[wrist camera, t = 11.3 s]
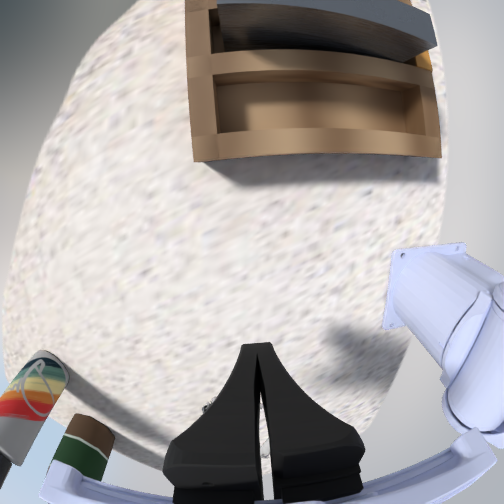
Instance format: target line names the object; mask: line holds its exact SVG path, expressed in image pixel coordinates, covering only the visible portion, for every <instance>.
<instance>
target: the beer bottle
mask: <svg viewBox="0 0 504 504" xmlns="http://www.w3.org/2000/svg"><path fill="white" fill-rule="evenodd" d="M114 440H115V437H114V435H113V434H112V433H111V431H110V430H109V429H108V428H107V426H105V425H103V424H102V423H100V422H98V421H97V420H95V419H93V418H92V417H90V416H86V415H81V414H75V415H74V417H73V418H72V420H71V422H70V423H69V425H68V427H67V430H66V432H65V433H64V435H63V438H62V440H61V442H60V444H59V446H58V448H57V450H56V453H55V455H54V457H53V459H52V461H53V460H57V461H59V462H62V463H64V464H67V465H69V466H72V467H73V468H75V469H77V470H78V471H79V472H80V473H81V474H82V475H83V476H85V477H88V478H91V479H94V480H97V481H100V482H101V480H102V477H103V474H104V471H105V468H106V465H107V462H108V459H109V456H110V453H111V450H112V448H113V444H114ZM52 461H51V463H50V466H51V464H52ZM50 466H49V468H50ZM49 468H48V470H49ZM47 473H48V471H47ZM46 475H47V474H46ZM48 504H49V503H48Z"/></svg>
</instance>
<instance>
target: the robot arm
mask: <svg viewBox="0 0 504 504" xmlns="http://www.w3.org/2000/svg"><path fill="white" fill-rule="evenodd" d="M456 247H457V248H456ZM402 253H403V256H402V257H401V254H402ZM391 323H392V324H391ZM390 324H391V325H390ZM402 326H407V327H408V328H409V329H410V330H411V332H412V333H413V334H414V335H415V336H416V338H417V339H418V340H419V341H420V342H421V344H423V346H424V347H425V348H426V350H427V351H428V352H429V353H430V354H431V356H432V357H433V358H434V359H435V361H436V362H437V363H438V364H439V366H440V367H441V368H442V370H443V372H442V375H441V377H440V380H441V382H442V383H443V385H444V386H445V387H446V390H445V392H444V394H443V397H442V408H443V412H444V414H445V417H446V418H447V420H448V422H449V423H450V425H451V426H452V427H453V428H454V429H455V430H456V431H458V432H459V433H460V434H462V435H461V436H460V437H458V438H457V439H456V440H455V441H454V442H453V443H452V445H451V446H450V447H449V448H448V449H446V450H444V451H442V452H440V453H438V454H436V455H434V456H432V457H430V458H428V459H426V460H424V461H421V462H419V463H417V464H415V465H412V466H410V467H407V468H405V469H402V470H400V471H397V472H395V473H392V474H389V475H386V476H383V477H380V478H377V479H374V480H371V481H368V482H365V483H362V481H361V478H360V474H359V473H360V472H361V469H360V466H359V462H360V460H361V458H362V457H363V455H364V453H365V447H364V443H363V441H362V439H361V438H360V436H359V434H358V433H357V431H356V430H355V428H354V427H353V426H351V425H349V424H347V423H345V422H343V421H341V420H340V419H338V418H336V417H335V416H333V415H332V414H330V413H329V412H327V411H326V410H325V409H323V408H322V407H321V406H320V405H318V404H317V403H316V402H315V401H313V400H312V399H311V398H310V397H309V396H308V395H307V394H306V393H305V392H304V391H303V390H302V389H301V388H300V387H299V386H298V385H297V383H296V382H295V381H294V380H293V379H292V377H291V376H290V375H289V373H288V372H287V371H286V369H285V368H284V366H283V365H282V363H281V362H280V360H279V358H278V356H277V355H276V353H275V351H274V348H273V346H272V344H271V343H270V342H265V343H253V344H243V345H242V346H241V350H240V354H239V356H238V359H237V362H236V364H235V366H234V369H233V371H232V373H231V375H230V377H229V379H228V380H227V382H226V384H225V386H224V387H223V389H222V390H221V392H220V393H219V395H218V396H217V398H216V399H215V400H214V402H213V403H212V404H211V405H210V407H209V408H208V409H207V410H206V411H205V412H204V414H203V415H202V416H201V417H200V418H199V419H198V420H197V421H195V422H194V423H193V424H192V425H191V426H190V427H189V428H188V429H187V430H185V431H184V432H183V433H182V434H180V435H179V436H178V437H176V438H175V439H174V440H172V441H171V443H170V446H169V448H168V450H167V453H166V456H165V460H164V466H163V471H162V472H163V474H164V475H165V476H166V478H167V479H168V480H169V481H170V482H171V483H172V484H173V485H174V486H175V487H174V494H173V497H166V496H160V495H154V494H149V493H144V492H139V491H134V490H130V489H125V488H122V487H118V486H114V485H111V484H107V483H104V482H100V481H97V480H94V479H91V478H88V477H85V476H83V475H82V474H81V473H80V472H79V471H78V470H77V469H75V468H73V467H72V466H69V465H67V464H64V463H62V462H59V461H57V460H53V461H52V464H51V466H50V468H49V470H48V473H47V475H46V477H45V480H44V482H43V485H42V487H41V490H40V492H39V497H40V498H41V499H43V500H44V501H46V502H47V503H49V504H441V503H442V502H444V501H446V500H448V499H449V498H451V497H453V496H454V495H456V494H458V493H459V492H461V491H462V490H464V489H465V488H467V487H468V486H470V485H471V484H472V483H474V482H475V481H476V480H477V479H479V478H480V477H481V476H482V475H483V474H484V473H486V472H487V471H488V470H489V469H490V468H491V467H492V466H493V465H494V464H495V463H496V462H497V458H496V456H495V455H494V453H493V451H492V450H491V448H490V446H489V445H488V443H487V442H489V443H491V444H493V445H494V446H496V447H497V448H499V449H504V276H503V275H502V274H501V273H499V272H497V271H496V270H494V269H492V268H491V267H489V266H487V265H486V264H484V263H482V262H480V261H479V260H477V259H475V258H473V257H471V256H469V255H468V254H466V244H465V243H464V242H459V243H450V244H441V245H432V246H423V247H414V248H405V249H397V250H394V251H393V253H392V256H391V267H390V276H389V284H388V291H387V298H386V305H385V311H384V317H383V323H382V327H383V329H384V330H389V329H394V328H398V327H402ZM260 392H261V397H262V402H263V407H264V412H265V417H266V422H267V428H268V434H269V445H270V456H271V468H272V479H273V491H274V500H264V495H263V482H262V469H261V455H260V441H259V418H260ZM486 441H487V442H486Z"/></svg>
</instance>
